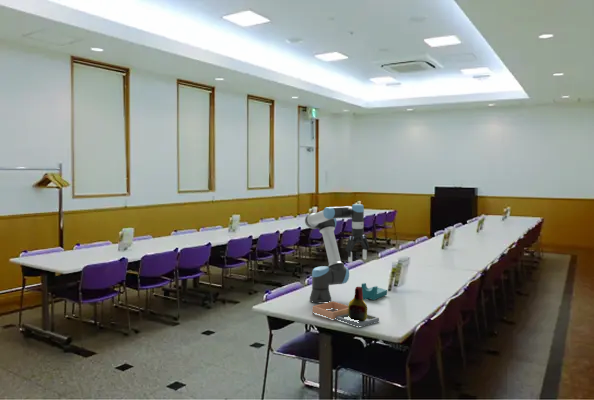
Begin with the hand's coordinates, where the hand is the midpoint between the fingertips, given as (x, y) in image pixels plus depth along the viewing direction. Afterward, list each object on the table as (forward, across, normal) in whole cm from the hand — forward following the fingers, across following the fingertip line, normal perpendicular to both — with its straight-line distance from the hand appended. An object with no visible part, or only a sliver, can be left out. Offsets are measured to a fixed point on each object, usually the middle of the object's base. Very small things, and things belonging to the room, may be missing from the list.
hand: (357, 260), depth 308 cm
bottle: (+31, -19, -18) cm, 40 cm away
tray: (+32, -19, -18) cm, 41 cm away
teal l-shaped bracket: (+32, +31, +13) cm, 46 cm away
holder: (+32, -21, +1) cm, 38 cm away
